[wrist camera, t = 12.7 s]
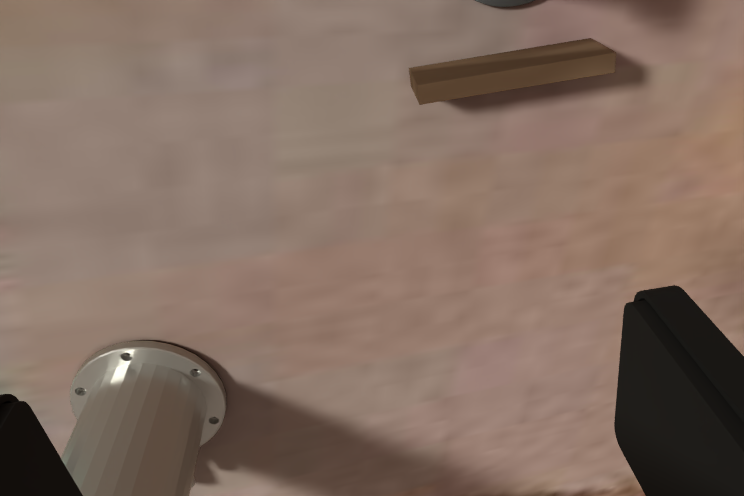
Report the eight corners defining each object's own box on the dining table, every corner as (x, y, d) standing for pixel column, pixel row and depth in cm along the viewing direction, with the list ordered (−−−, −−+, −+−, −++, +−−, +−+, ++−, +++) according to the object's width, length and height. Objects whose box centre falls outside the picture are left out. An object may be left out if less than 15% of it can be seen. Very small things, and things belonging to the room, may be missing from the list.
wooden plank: (589, 56, 41) (614, 72, 38) (411, 86, 41) (419, 104, 38) (590, 38, 40) (616, 52, 37) (409, 68, 40) (417, 85, 37)
